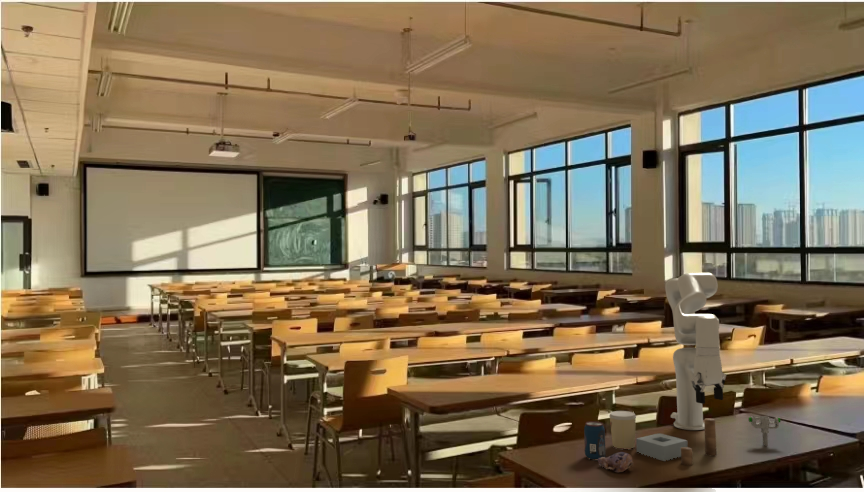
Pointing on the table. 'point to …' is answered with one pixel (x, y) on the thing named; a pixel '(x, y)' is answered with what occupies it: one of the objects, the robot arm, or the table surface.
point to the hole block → (660, 446)
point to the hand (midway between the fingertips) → (709, 401)
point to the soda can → (594, 440)
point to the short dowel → (686, 456)
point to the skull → (616, 462)
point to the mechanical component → (764, 425)
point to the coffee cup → (623, 429)
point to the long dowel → (710, 437)
